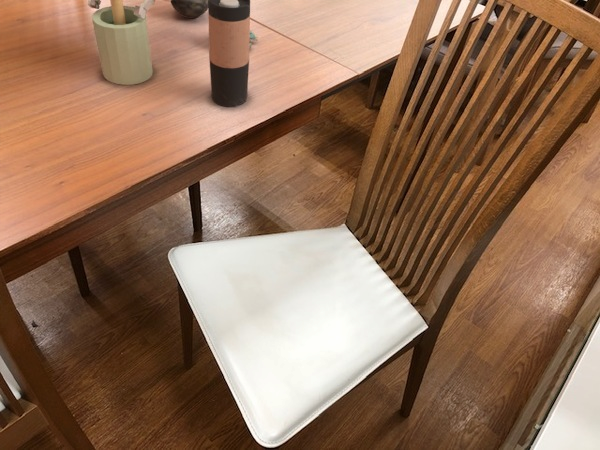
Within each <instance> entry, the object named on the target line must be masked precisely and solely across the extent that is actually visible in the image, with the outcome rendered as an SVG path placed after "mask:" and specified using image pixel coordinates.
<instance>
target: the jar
mask: <svg viewBox="0 0 600 450" xmlns="http://www.w3.org/2000/svg"><path fill="white" fill-rule="evenodd" d="M123 7H124V14H125V20H126V25H114V19H113V13H112V7H111V5H110V6H105V7H101V8H99V9H96V11H94V12H93V13H92V14H91V22H92V27H93V31H94V37H95V42H96V47H97V51H98V52H97V53H98V56H99V61H100V66H101V72H102V75H103V77H104V79H105V80H107V81H108V82H110V83H113V84H116V85H123V86H130V85H131V86H132V85H137V84H141V83H144V82H147V81H148V80H149V79H150V78H151V77H152V75H153V73H154V71H153V62H152V54H151V46H150V38H149V37H150V36H149V29H148V20H147V14H146V15H145V18H144V19H141V18H136V16H134V11H135V6H128V5H123Z"/></svg>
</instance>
